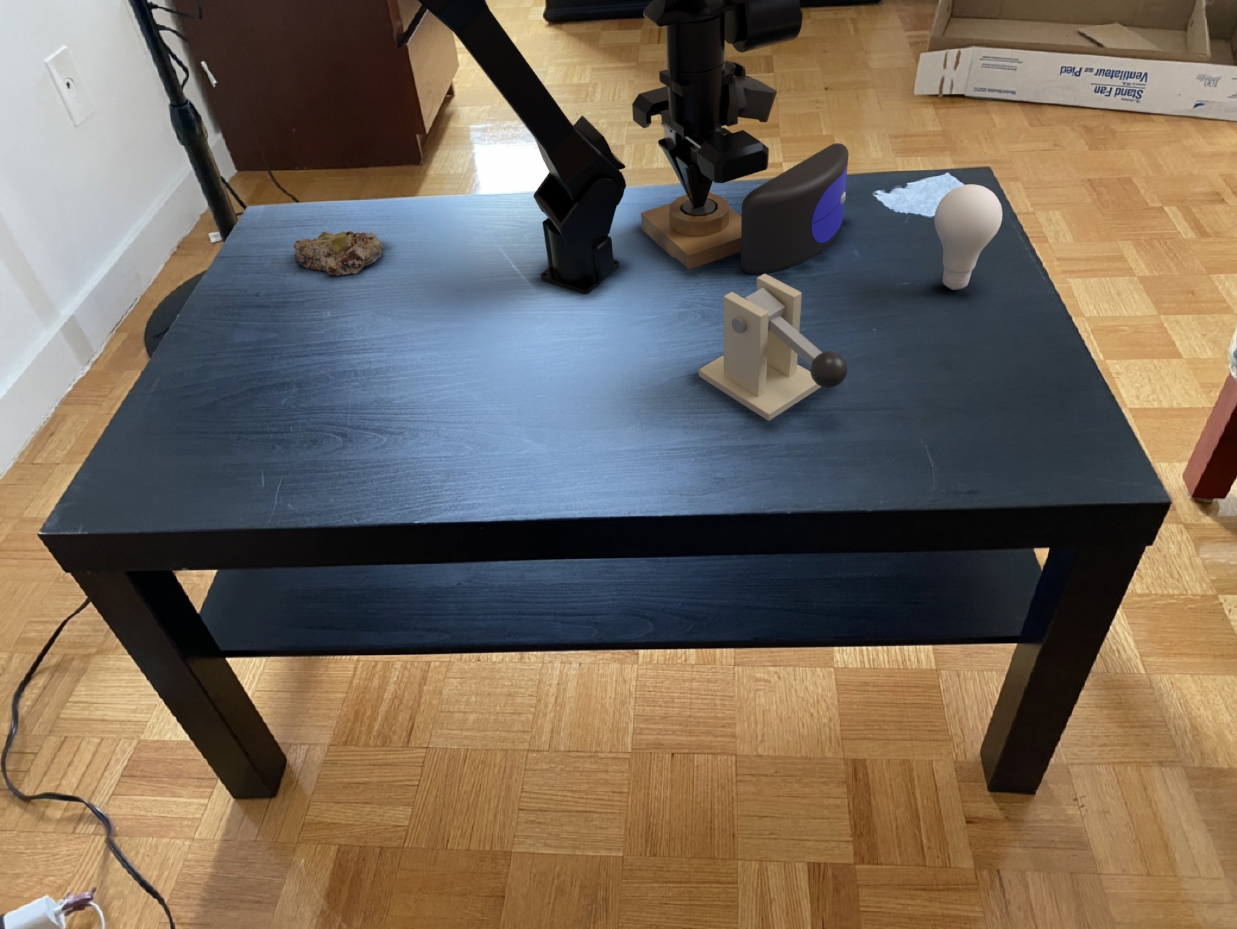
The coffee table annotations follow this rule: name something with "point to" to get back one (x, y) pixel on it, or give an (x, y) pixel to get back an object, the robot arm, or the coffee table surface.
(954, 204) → the lightbulb
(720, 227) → the button block
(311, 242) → the mineral rock
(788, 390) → the switch bracket
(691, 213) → the button
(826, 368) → the switch lever
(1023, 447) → the coffee table surface
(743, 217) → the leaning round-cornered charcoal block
